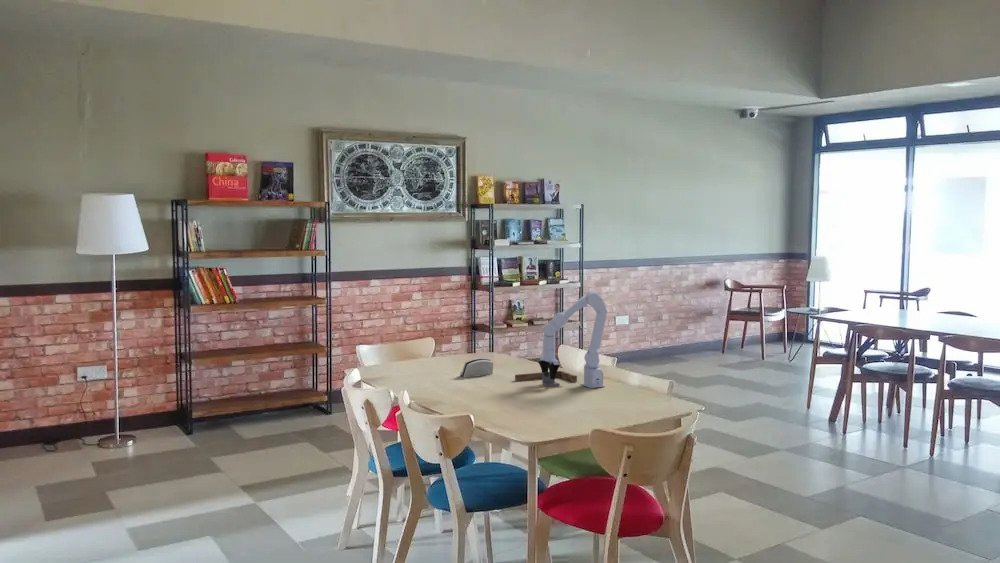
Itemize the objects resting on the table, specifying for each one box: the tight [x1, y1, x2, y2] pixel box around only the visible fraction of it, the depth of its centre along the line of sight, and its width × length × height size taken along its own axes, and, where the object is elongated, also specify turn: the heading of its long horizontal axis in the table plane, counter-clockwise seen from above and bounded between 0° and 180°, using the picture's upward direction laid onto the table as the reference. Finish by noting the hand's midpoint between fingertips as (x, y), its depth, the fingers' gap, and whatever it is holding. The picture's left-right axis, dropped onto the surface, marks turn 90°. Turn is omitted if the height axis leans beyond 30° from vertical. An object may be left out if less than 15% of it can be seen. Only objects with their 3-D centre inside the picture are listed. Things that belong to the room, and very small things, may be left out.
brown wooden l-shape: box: [514, 370, 578, 383], centre depth 396 cm, size 15×26×3 cm, turn 115°
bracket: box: [541, 371, 561, 388], centre depth 385 cm, size 6×6×6 cm
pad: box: [539, 383, 563, 389], centre depth 386 cm, size 8×8×1 cm
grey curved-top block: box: [459, 357, 494, 378], centre depth 411 cm, size 17×5×10 cm, turn 123°
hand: (548, 377), depth 387 cm, fingers open, 7 cm apart
